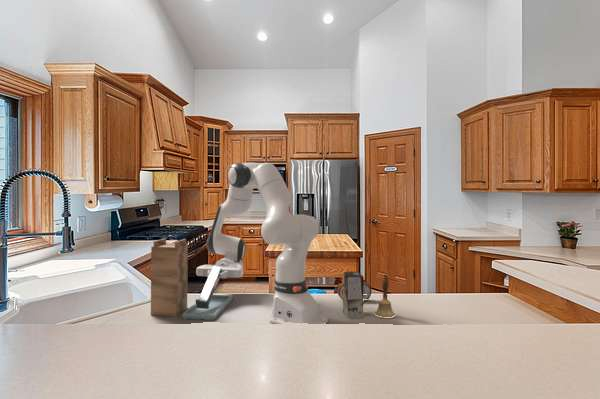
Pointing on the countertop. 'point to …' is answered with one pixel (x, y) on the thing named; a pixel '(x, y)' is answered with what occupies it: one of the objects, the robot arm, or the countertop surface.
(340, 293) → the tin
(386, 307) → the hand bell
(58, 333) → the countertop surface
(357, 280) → the coffee box
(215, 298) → the tray
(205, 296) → the gray rectangular bar
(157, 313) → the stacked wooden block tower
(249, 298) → the countertop surface
